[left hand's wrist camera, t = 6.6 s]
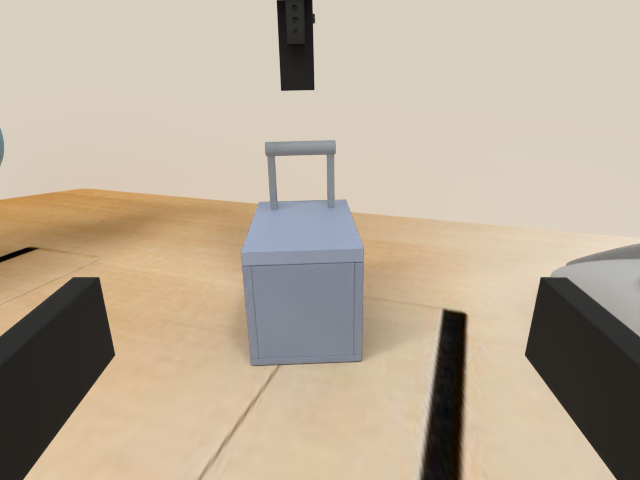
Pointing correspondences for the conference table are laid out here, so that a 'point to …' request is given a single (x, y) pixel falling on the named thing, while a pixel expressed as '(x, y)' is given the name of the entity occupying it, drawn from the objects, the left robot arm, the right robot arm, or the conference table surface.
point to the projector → (610, 281)
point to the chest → (304, 312)
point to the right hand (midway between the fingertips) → (298, 89)
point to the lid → (302, 220)
